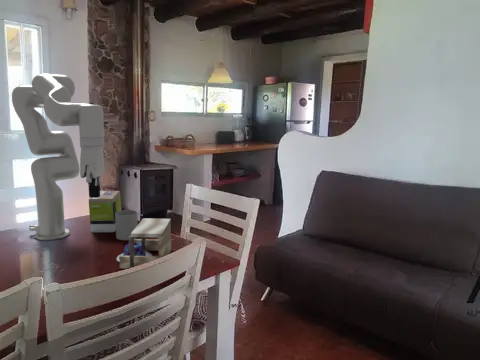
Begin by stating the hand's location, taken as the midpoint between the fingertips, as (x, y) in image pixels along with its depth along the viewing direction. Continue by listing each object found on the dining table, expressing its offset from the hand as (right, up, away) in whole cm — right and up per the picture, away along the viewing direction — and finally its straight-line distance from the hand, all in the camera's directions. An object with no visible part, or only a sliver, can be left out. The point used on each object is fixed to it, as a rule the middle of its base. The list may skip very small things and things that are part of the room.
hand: (94, 196), depth 130 cm
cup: (+3, -17, +26) cm, 32 cm away
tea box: (-9, -15, +38) cm, 42 cm away
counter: (+17, -22, +4) cm, 28 cm away
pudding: (+12, -22, +4) cm, 26 cm away
